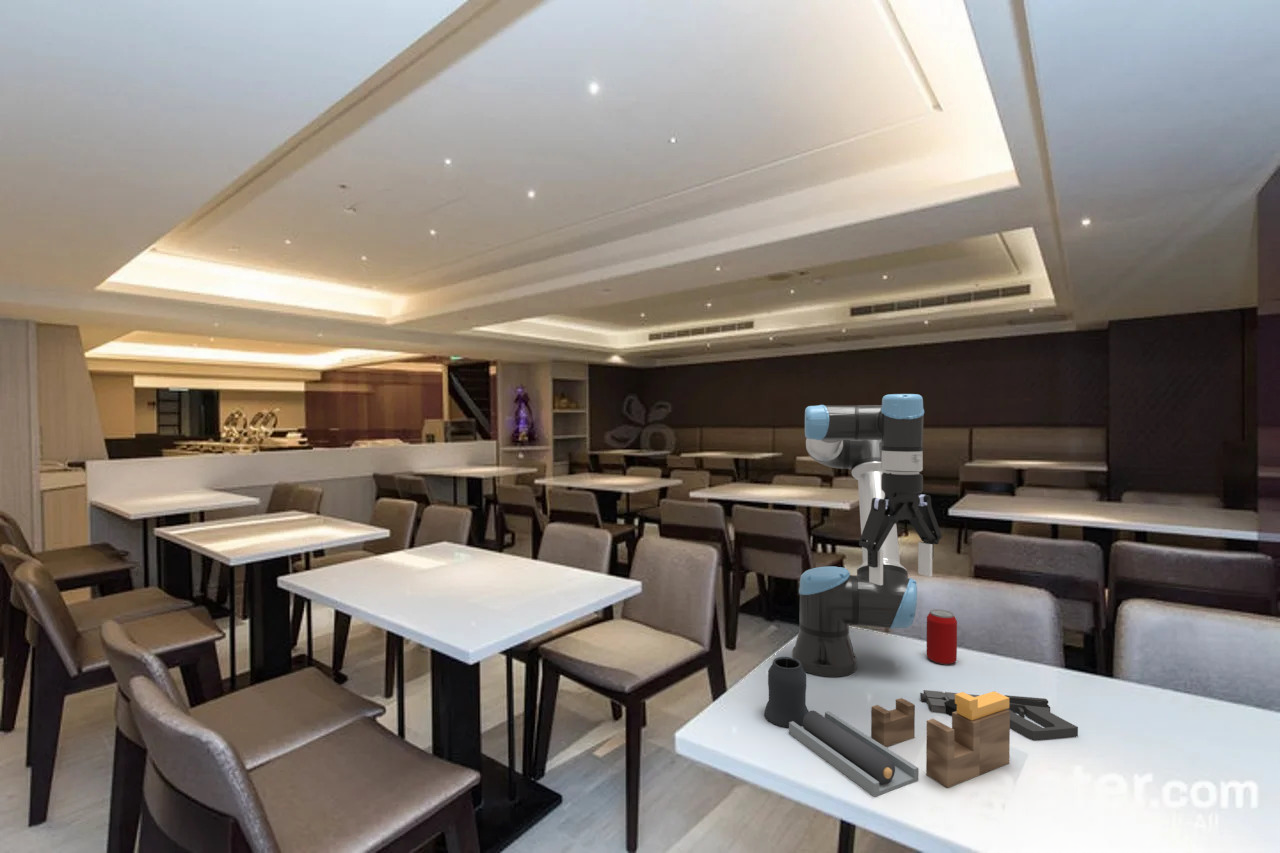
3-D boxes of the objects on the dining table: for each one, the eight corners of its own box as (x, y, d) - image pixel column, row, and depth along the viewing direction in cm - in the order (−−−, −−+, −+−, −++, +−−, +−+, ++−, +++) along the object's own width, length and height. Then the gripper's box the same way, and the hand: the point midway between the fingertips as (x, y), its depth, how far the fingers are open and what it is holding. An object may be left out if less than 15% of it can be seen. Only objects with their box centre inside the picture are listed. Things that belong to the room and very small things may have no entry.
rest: (871, 739, 111) (871, 706, 111) (901, 730, 115) (901, 697, 115) (883, 747, 109) (884, 713, 108) (914, 737, 112) (914, 704, 112)
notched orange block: (954, 713, 102) (954, 694, 102) (993, 701, 107) (994, 682, 107) (969, 721, 100) (970, 701, 100) (1009, 707, 104) (1009, 688, 104)
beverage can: (946, 654, 151) (946, 607, 151) (962, 665, 144) (963, 616, 144) (921, 655, 150) (921, 608, 150) (936, 666, 144) (936, 617, 143)
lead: (808, 734, 114) (797, 721, 112) (820, 717, 115) (809, 705, 114) (887, 791, 96) (876, 777, 95) (901, 770, 98) (889, 756, 96)
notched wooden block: (926, 774, 100) (926, 720, 100) (987, 751, 107) (987, 701, 107) (947, 788, 97) (947, 732, 97) (1009, 763, 104) (1009, 710, 103)
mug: (811, 731, 114) (812, 674, 114) (763, 726, 116) (764, 669, 116) (807, 702, 126) (808, 649, 126) (764, 697, 128) (764, 646, 128)
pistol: (1087, 737, 109) (1050, 698, 124) (937, 721, 114) (918, 686, 129) (1087, 749, 109) (1050, 709, 124) (937, 732, 114) (918, 696, 129)
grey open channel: (788, 733, 114) (788, 722, 114) (828, 721, 118) (828, 711, 118) (874, 796, 95) (874, 783, 95) (918, 780, 99) (918, 767, 99)
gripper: (870, 476, 108) (869, 592, 108) (961, 471, 118) (960, 576, 119) (839, 473, 114) (839, 582, 115) (929, 468, 125) (928, 567, 125)
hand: (901, 579), depth 117 cm, fingers open, 13 cm apart
